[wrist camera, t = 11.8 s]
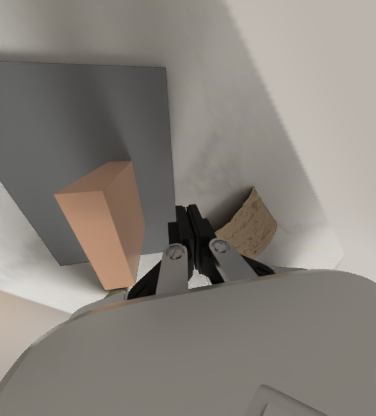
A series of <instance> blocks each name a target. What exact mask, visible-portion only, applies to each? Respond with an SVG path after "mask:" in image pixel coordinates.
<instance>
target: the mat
mask: <svg viewBox="0 0 376 416" xmlns="http://www.w3.org/2000/svg"><path fill="white" fill-rule="evenodd" d="M113 161H132V164H133V168H134V173H135V178H136V183H137V187H138V192H139V197H140V202H141V207H142V211H143V216H144V221H145V231H144V237H143V243H142V248H141V254H140V255H145V254H152V253H159V252H164V249H165V248H166V247H167V246H169V236H168V222H176V209H175V193H174V179H173V166H172V152H171V138H170V124H169V110H168V96H167V82H166V68H163V67H136V66H110V65H83V64H57V63H31V62H4V61H0V181H1V183H2V184H3V186H4V187H5V189H6V190H7V191H8V193H9V194H10V196H11V197H12V198H13V200H14V201H15V203H16V204H17V205H18V207H19V208H20V210H21V211H22V212H23V214H24V215H25V217H26V218H27V220H28V221H29V222H30V224H31V225H32V227H33V228H34V229H35V231H36V232H37V234H38V235H39V236H40V238H41V239H42V241H43V242H44V244H45V245H46V246H47V248H48V249H49V251H50V252H51V253H52V255H53V256H54V258H55V259H56V260H57V262H58V263H59V265H60V266H64V265H71V264H79V263H86V262H90V261H89V259H88V257H87V255H86V254H85V252H84V250H83V248H82V246H81V244H80V242H79V241H78V239H77V237H76V235H75V233H74V231H73V229H72V228H71V226H70V224H69V222H68V220H67V218H66V216H65V215H64V213H63V211H62V209H61V207H60V205H59V204H58V202H57V200H56V198H55V196H54V194H55V193H57V192H58V191H60V190H62V189H64V188H65V187H67V186H69V185H70V184H72V183H74V182H75V181H77V180H79V179H80V178H82V177H84V176H85V175H87V174H89V173H90V172H92V171H94V170H95V169H97V168H99V167H100V166H102V165H104V164H105V163H107V162H113Z"/></svg>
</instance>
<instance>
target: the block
mask: <svg viewBox="0 0 376 416" xmlns="http://www.w3.org/2000/svg"><path fill="white" fill-rule="evenodd" d="M54 196H55V198H56V200H57V202H58V204H59V205H60V207H61V209H62V211H63V213H64V215H65V216H66V218H67V220H68V222H69V224H70V226H71V228H72V229H73V231H74V233H75V235H76V237H77V239H78V241H79V242H80V244H81V246H82V248H83V250H84V252H85V254H86V255H87V257H88V259H89V261H90V263H91V265H92V267H93V268H94V270H95V272H96V274H97V276H98V278H99V280H100V281H101V283H102V285H103V287H104V289H105V290H111V289H117V288H123V287H129V286H134V285H135V283H136V278H137V272H138V266H139V260H140V254H141V248H142V243H143V237H144V231H145V221H144V216H143V211H142V207H141V202H140V197H139V192H138V187H137V183H136V178H135V173H134V168H133V164H132V161H113V162H107V163H105V164H104V165H102V166H100V167H99V168H97V169H95V170H94V171H92V172H90V173H89V174H87V175H85V176H84V177H82V178H80V179H79V180H77V181H75V182H74V183H72V184H70V185H69V186H67V187H65V188H64V189H62V190H60V191H58V192H57V193H55V194H54Z"/></svg>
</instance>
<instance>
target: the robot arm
mask: <svg viewBox="0 0 376 416" xmlns="http://www.w3.org/2000/svg"><path fill="white" fill-rule="evenodd" d="M175 209H176V222H168V236H169V246H167V247H166V248H165V249H164V252H163V256H162V260H161V261H160V262H159V263H158V264H156V265H155V266H154V267H153V268H152V269H151V270H150V271H149V272H148V273H147V274H146V275H145V276H144V277H143V278H142V279H140V280H139V281H138V282H137V283H136V284H135V285H134V286H133V287H132V288H131V290H130V291H128V292H126V293H124V291H123V292H120V293H117V294H115V295H112V296H109V297H107V298H104V299H102V300H99V301H96V302H94V303H91V304H88V305H86V306H83V307H82V308H80V309H78V310H77V311H76V312H74V313H73V314H72V316H71V317H70V318H69V319H68V320H66V321H65V322H63V323H61V324H59V325H57V326H56V327H54V328H52V329H51V330H49V331H48V332H46V333H45V334H44V335H42V336H41V337H40V338H38V339H37V340H36V341H35V342H34V343H32V344H31V346H29V347H28V349H26V350H25V351H24V353H23V354H22V355H21V356H20V357H19V358H18V359H17V361H16V362H15V363H14V364H13V366H12V367H11V368H10V370H9V371H8V372H7V373H6V375H5V376H4V378H3V379H2V380H1V382H0V416H376V283H375V282H373V281H371V280H369V279H367V278H365V277H363V276H359V275H356V274H352V273H349V272H344V271H338V270H329V269H310V270H308V269H303V268H286V267H272V268H269V267H268V266H266V265H264V264H262V263H260V262H257V261H255V260H253V259H251V258H248V257H246V256H244V255H242V254H239V253H238V251H237V250H236V249H235V248H234V247H233V245H232V244H231V243H230V242H229V241H227V240H225V239H222V238H217V236H216V234H215V232H214V231H213V229H212V227H211V225H210V223H209V221H208V219H207V218H206V219H202V217H201V215H200V212H199V210H198V208H197V206H196V204H192V205H189V207H187V212H186V209H185V207H182V205H181V206H175ZM194 265H195V269H196V270H198V271H199V274H203V275H205V276H206V279H207V282H208V284H209V285H208V286H203V287H197V288H191V289H188V281H189V280H190V278H191V277H192V276H193V270H194Z"/></svg>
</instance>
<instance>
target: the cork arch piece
mask: <svg viewBox="0 0 376 416" xmlns="http://www.w3.org/2000/svg"><path fill="white" fill-rule="evenodd" d="M254 188H255V187H254ZM254 188H253V190H252V192H251V194H250V196H249V198H248V199H247V200H246V202H245V203H244V204H243V207H241V208H240V209H239V210H238V212H237V213H236V214H235V215H234V216H233V218H232V220H231V221H230V223H227V224H226V225H225V226H224V227H223V228H222V229H219V230H217V231H216V232H215V234H216V236H217V238H222V239H225V240H227V241H229V242H230V243H231V244H232V245H233V247H234V248H235V249H236V250H237V251H238V253H239V254H242V255H244V256H246V257H248V258H251V259H253V258H254V257H256V256H257V255H259V253H260V252H262V250H264V249H265V247H266V246H267V245H268V244H269V243H270V241H271V240H272V238H273V236H274V234H275V231H276V228H277V227H276V225H277V222H276V221H275V220H274V219H273V217H272V215H271V214H270V212H269V211H268V209H267V207H266V206H265V205H264V203H263V202H262V200H261V198H260V197H258V195H257V192H256V190H255V189H254Z"/></svg>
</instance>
